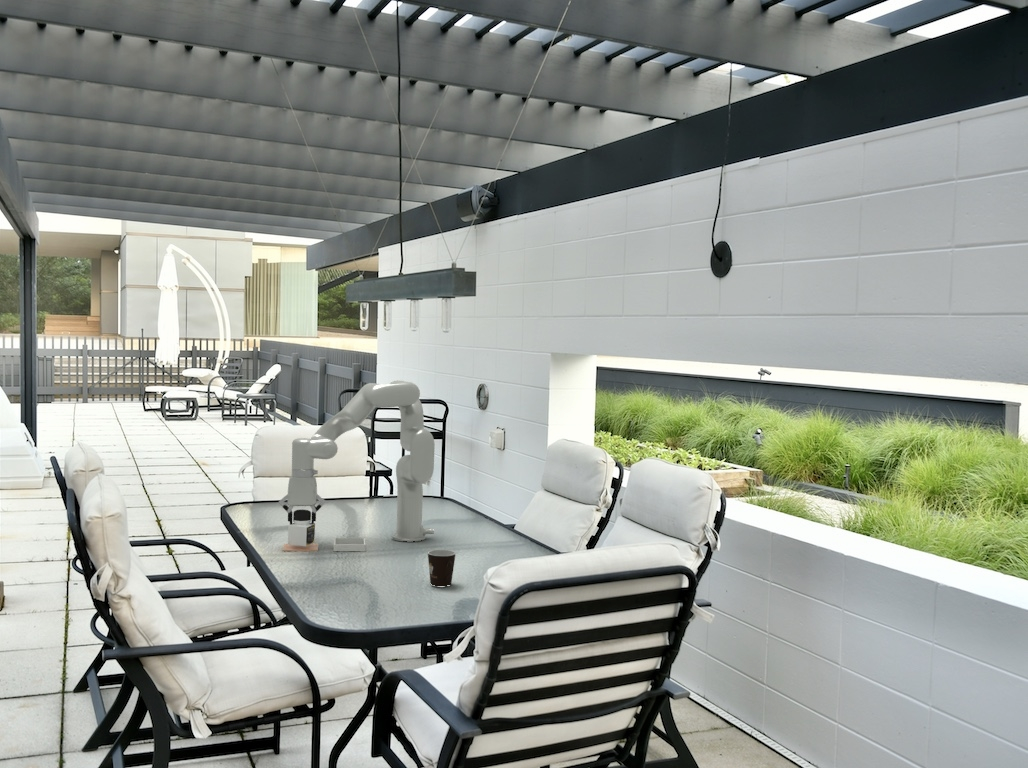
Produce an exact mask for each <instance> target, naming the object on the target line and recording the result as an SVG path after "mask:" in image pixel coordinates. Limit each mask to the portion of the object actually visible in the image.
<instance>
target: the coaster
mask: <svg viewBox="0 0 1028 768" xmlns="http://www.w3.org/2000/svg"><path fill="white" fill-rule="evenodd" d="M318 545H319V543H312V544H310V545H308V546H295V545H288V543H284V545H283V548H282V549H281V550H282V551H319V546H320V545H319V546H318Z"/></svg>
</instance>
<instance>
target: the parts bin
mask: <svg viewBox="0 0 1028 768" xmlns="http://www.w3.org/2000/svg"><path fill="white" fill-rule="evenodd" d="M333 539H334V540H333V551H365V552H366V537H334V538H333Z"/></svg>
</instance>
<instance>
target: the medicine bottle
mask: <svg viewBox="0 0 1028 768" xmlns="http://www.w3.org/2000/svg"><path fill="white" fill-rule="evenodd" d="M315 528H316V523H315V522H314V524H312V511H311V510H309V509H302V508H301V509H296V510H294V511H293V513H292V524H290V523H289V524H288V529H287V530H288V531H287V533H288V534H287V544H288V545H295V546H308V545H310V544H315V535H316V534H315V533H316V532H315V531H316V529H315Z"/></svg>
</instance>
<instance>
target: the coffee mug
mask: <svg viewBox="0 0 1028 768" xmlns="http://www.w3.org/2000/svg"><path fill="white" fill-rule="evenodd" d="M456 554H457V552H456V551H454V550H452V549H451V550H450V549H431V550H429V551H428V552H427V559H428V570H429V581H430V582H429V583H431V584H432V585H435V586H447V585H451V586H452V582H453V574H454V567H455V561H456V560H455V559H456ZM431 584H430V585H431Z"/></svg>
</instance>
